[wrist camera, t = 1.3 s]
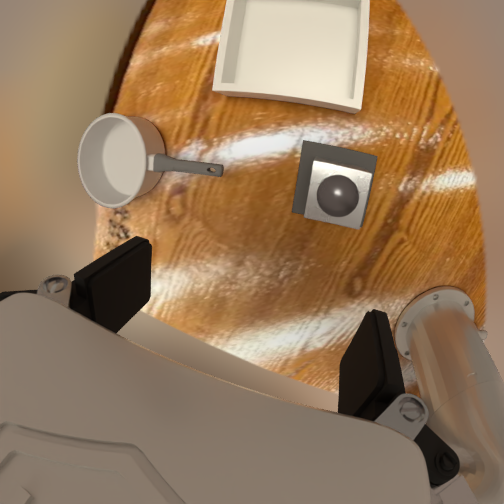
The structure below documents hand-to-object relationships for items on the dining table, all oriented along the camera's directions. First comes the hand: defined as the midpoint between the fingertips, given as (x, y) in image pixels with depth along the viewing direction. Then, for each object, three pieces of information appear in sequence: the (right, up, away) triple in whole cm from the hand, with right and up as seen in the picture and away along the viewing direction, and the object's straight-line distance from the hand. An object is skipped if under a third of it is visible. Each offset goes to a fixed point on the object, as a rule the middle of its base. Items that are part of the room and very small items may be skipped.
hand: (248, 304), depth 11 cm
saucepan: (-11, +14, +21) cm, 28 cm away
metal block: (+9, +9, +17) cm, 21 cm away
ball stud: (+9, +9, +18) cm, 22 cm away
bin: (+5, +24, +12) cm, 28 cm away
